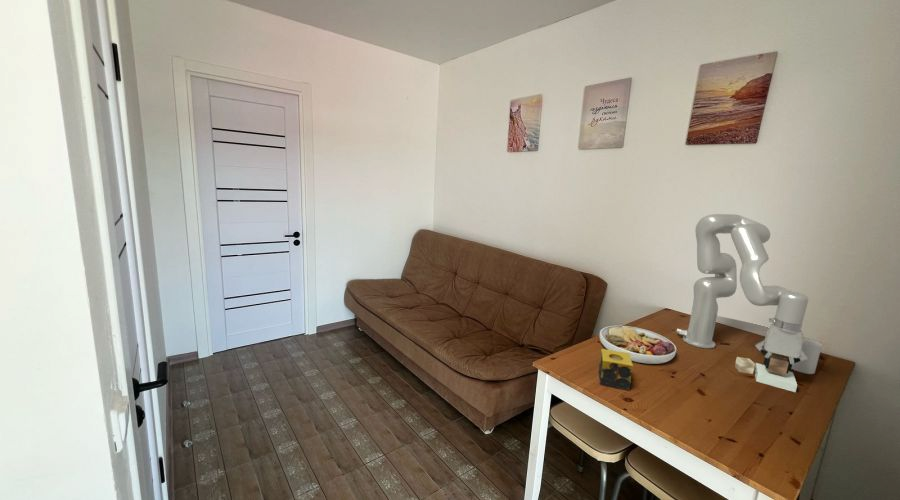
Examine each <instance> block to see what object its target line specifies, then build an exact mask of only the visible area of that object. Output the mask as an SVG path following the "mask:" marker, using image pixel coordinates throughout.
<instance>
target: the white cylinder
mask: <svg viewBox="0 0 900 500" xmlns="http://www.w3.org/2000/svg"><path fill="white" fill-rule="evenodd" d="M822 347H823V344H822V343H821V342H819V341H817V340H814V339H810V338H807V337H803V345H802V351H803V352H804V353H805V355H806V356H807V358H808V359H807V360H803V361H800V362H797V363H794V364H793V365H792V368H791V370H794V371H796V372H799V373H802V374H806V375H807V374H808V375H813V374H815V373H816V369H817V366H818V362H819V358H820V354H821V351H822ZM800 356H801V355H800Z"/></svg>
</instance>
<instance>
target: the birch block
mask: <svg viewBox="0 0 900 500" xmlns="http://www.w3.org/2000/svg"><path fill="white" fill-rule="evenodd" d="M755 364H756V362H754V361H752V360H751V359H750V358H747V357H742V356H741V357H740V356H736V359H735V364H734V368H735V369H737V370H738V372H739V373H743V374H744V373H745V374H749V375H751V374H752V375H753V374H754V372H755V371H754V369H755Z"/></svg>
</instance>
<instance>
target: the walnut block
mask: <svg viewBox="0 0 900 500" xmlns="http://www.w3.org/2000/svg"><path fill="white" fill-rule="evenodd" d="M788 360H789V359H788V358H786V357H784V356H780V355H774V354H771V355H770V362H769V366H768V368H767V369H768V371H770V372H773V373H777V374H781V375H785V376H786V372H787V368H788V364H789V363H788Z"/></svg>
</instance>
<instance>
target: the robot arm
mask: <svg viewBox="0 0 900 500" xmlns="http://www.w3.org/2000/svg"><path fill="white" fill-rule="evenodd" d="M717 234H724V235H725V234H730V236H731V240H732V242H733V245H734V247H735V250H736V252H737V254H738V257H739V259H740V261H741V268H740V270H739V271H740V273H739V283H740V287H741V289H742V292H743V294H744V296H745V298H746V299H747V300H748V302H749V303H750V304H751V305H754V306H757V307H758V306H759V307H767V306H777V308H776V312H775V314H774V317H773V318H770V317H769V319H768V322H769V323H771V324H770V325H769V328H768V329H767V330H766V331H767V332H766V335H765V337H764V339H763V340H761V341H760V342H758V343H756V344H755V348H756V349H757V350H759V351H760V353H761V354H762V355H763V356H764V359H763V363H762V365H765V367H766V368H768V366H769V362H770V355H773V354H776V355H778V356H782V357H784V356H785V357H788V358H787V360H788V363H789V364H788V368H787V372H786V373H787V374H788V371H789V372H792V369H791V368H792V365H793V364H794V363H797V362H800V361H803V360H807V359H808V358H807V356H806V355H805V353H804V352H803V351H802V345H803V338H804V332H803V331H802V325H803V322H804V319H805V315H806V310H807V307H808V303H809V297H808V296H807V295H806V294H804V293H800V292H797V291H792V290H789V289H787V288H785V287H782V286H779V285H763V283H762V280H761V277H760V269H761V268H762V267H763V265H764V264H765V263H766V262H768V261H769V254H768V253H767V251H766V248H765V246H764V243H767V242H768V241H769V240H770V239H771V238H770V237H771V231H770V230H769V228H768V227H767V226H766V225H764V224H763V223H761V222H758V221H756V220H753V219H750V218H747V217H746V216H743V215H739V214H733V213H732V214H731V213H729V214H726V213H725V214H724V213H714V214H709V215H705V216H703V217H702V218H701V219H699V220H698V222H697V224H696V226H695V238H696V264H697V265H696V266H697V269H698V271H699V272H700V273H702V274H704V275H714V276H705V277H701V278H698V279H697V280H696V281H695V282H694V283H693V301H692V302H693V303H692V308H691V314H690V318H689V323H688V328H687V329H682V328H676V333H677V334H678V335H681V336H682V340H683V341H684V342H685V343H687V345H688V344H689V345H691V346H693V347H698V348H701V349H714V348H715V347H716V343H715V341H714V340H713V337H714V333H715V327H716V321H717V318H718V312H719V305H718V301H717V299H719V298H720V299H721V298H722V299H723V298H730V297H731V296H733V295H735V293H736V292H737V289H738V288H737V284H738V282H737V279H738V277H737V263H736V260H735V258H734V257H733V256H732V255H731V254H729V253H726V252H721V243H720V241H719V238H718V236H717ZM800 355H801V356H800Z"/></svg>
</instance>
